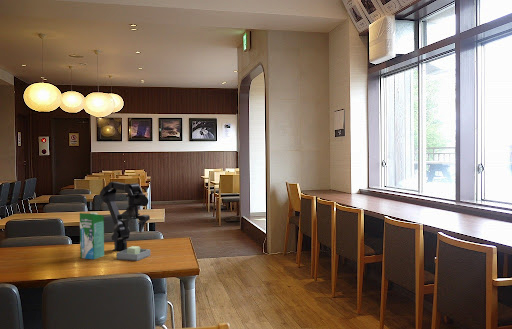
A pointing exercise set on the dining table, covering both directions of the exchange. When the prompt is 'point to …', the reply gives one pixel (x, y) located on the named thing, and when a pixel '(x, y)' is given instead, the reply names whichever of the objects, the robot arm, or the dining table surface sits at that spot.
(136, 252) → the sage cube
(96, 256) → the milk carton
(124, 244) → the robot arm
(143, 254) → the slate bin
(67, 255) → the dining table surface
